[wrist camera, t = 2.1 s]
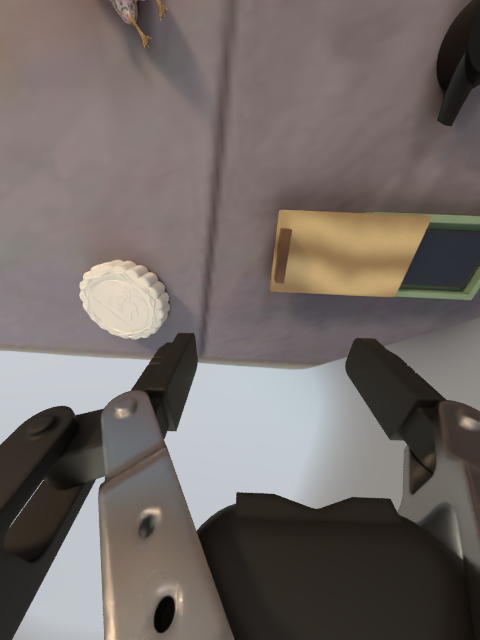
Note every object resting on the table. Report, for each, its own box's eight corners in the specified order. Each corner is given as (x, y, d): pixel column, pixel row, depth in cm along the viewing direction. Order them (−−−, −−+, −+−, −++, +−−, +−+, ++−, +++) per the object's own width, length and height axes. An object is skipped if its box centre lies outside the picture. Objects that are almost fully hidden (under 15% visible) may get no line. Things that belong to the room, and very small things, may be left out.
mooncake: (186, 303, 30) (179, 313, 27) (141, 341, 34) (131, 354, 31) (121, 240, 26) (103, 244, 23) (79, 292, 30) (59, 301, 27)
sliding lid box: (364, 212, 23) (373, 211, 21) (506, 218, 23) (527, 218, 21) (340, 289, 28) (346, 294, 26) (457, 294, 28) (471, 300, 26)
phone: (372, 226, 23) (377, 226, 23) (491, 231, 23) (500, 232, 22) (354, 281, 27) (357, 283, 26) (457, 285, 27) (464, 288, 26)
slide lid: (279, 209, 21) (282, 209, 19) (428, 216, 21) (450, 216, 19) (269, 290, 26) (271, 297, 24) (391, 295, 26) (405, 303, 24)
